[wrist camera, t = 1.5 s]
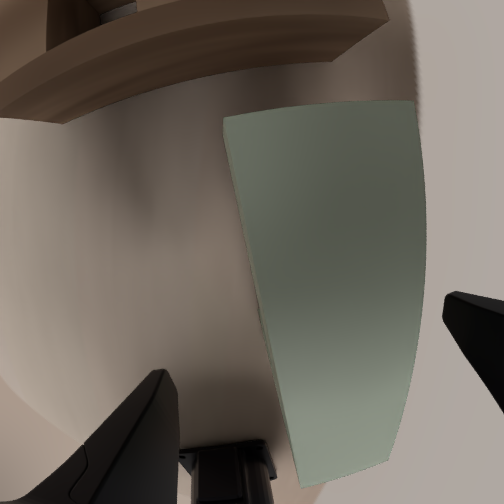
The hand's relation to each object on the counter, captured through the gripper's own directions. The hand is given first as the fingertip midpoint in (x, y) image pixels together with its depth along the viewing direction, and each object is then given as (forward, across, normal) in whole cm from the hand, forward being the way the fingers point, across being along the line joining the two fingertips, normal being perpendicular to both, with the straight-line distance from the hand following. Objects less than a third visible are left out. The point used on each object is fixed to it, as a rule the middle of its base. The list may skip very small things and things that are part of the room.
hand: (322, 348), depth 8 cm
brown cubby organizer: (+6, +2, -12) cm, 13 cm away
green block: (+6, 0, -1) cm, 6 cm away
